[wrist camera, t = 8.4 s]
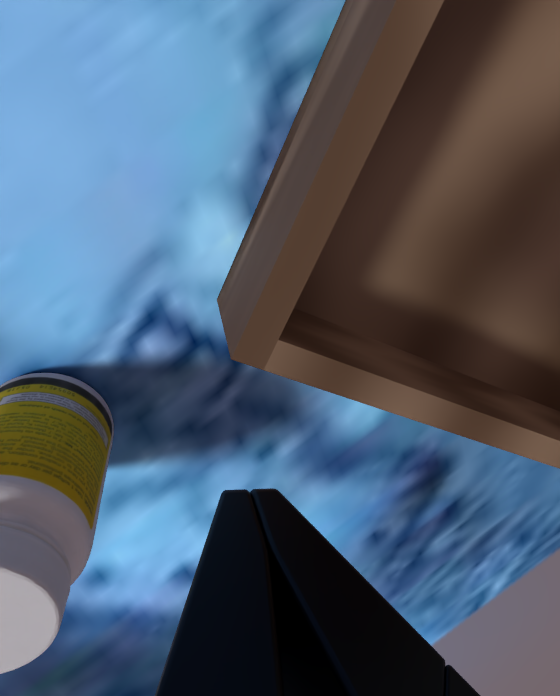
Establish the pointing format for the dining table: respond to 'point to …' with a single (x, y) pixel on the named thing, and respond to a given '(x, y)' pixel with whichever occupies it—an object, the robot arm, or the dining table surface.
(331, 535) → the dining table surface
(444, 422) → the crate
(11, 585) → the supplement bottle
